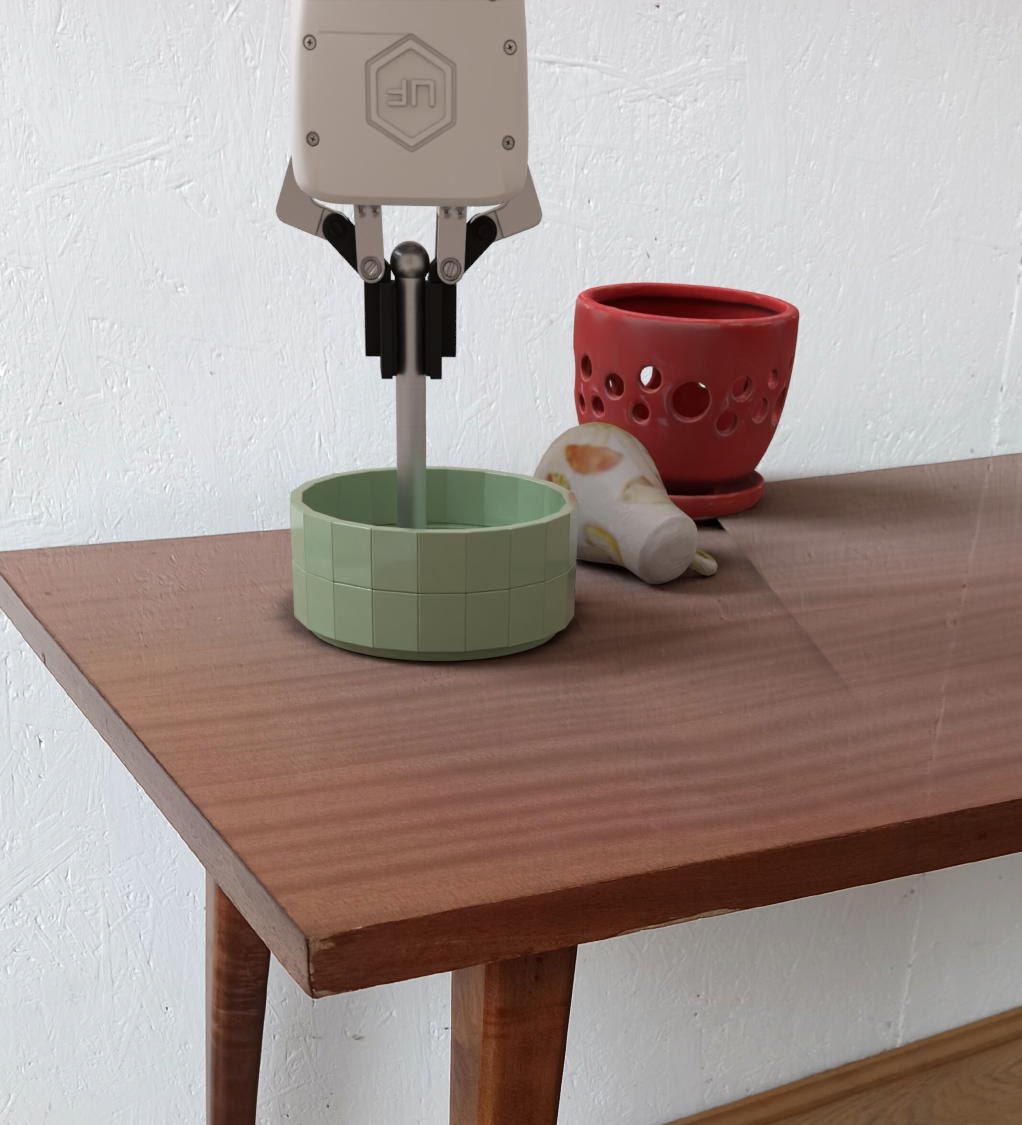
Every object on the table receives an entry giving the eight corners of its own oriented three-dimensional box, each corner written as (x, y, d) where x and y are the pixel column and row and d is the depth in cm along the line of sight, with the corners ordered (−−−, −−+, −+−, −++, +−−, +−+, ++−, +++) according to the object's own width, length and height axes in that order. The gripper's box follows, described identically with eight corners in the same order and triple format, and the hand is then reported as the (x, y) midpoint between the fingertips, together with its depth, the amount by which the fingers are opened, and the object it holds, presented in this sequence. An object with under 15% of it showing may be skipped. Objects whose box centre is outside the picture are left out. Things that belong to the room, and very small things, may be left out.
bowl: (555, 584, 93) (559, 466, 90) (588, 664, 82) (594, 532, 78) (296, 585, 92) (291, 465, 89) (293, 666, 80) (287, 532, 77)
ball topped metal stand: (457, 583, 89) (460, 235, 81) (463, 611, 85) (466, 247, 77) (363, 584, 89) (355, 234, 81) (364, 611, 85) (356, 245, 76)
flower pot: (537, 520, 105) (544, 301, 99) (603, 476, 116) (613, 275, 109) (752, 544, 101) (773, 317, 95) (799, 496, 112) (821, 290, 106)
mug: (640, 607, 90) (562, 418, 88) (563, 642, 99) (491, 471, 97) (755, 554, 93) (682, 368, 90) (670, 593, 102) (602, 425, 99)
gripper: (208, -119, 68) (237, 387, 78) (608, -106, 70) (587, 390, 79) (219, -107, 75) (244, 359, 84) (585, -96, 76) (568, 362, 86)
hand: (410, 371), depth 82 cm, fingers closed on ball topped metal stand, 1 cm apart
